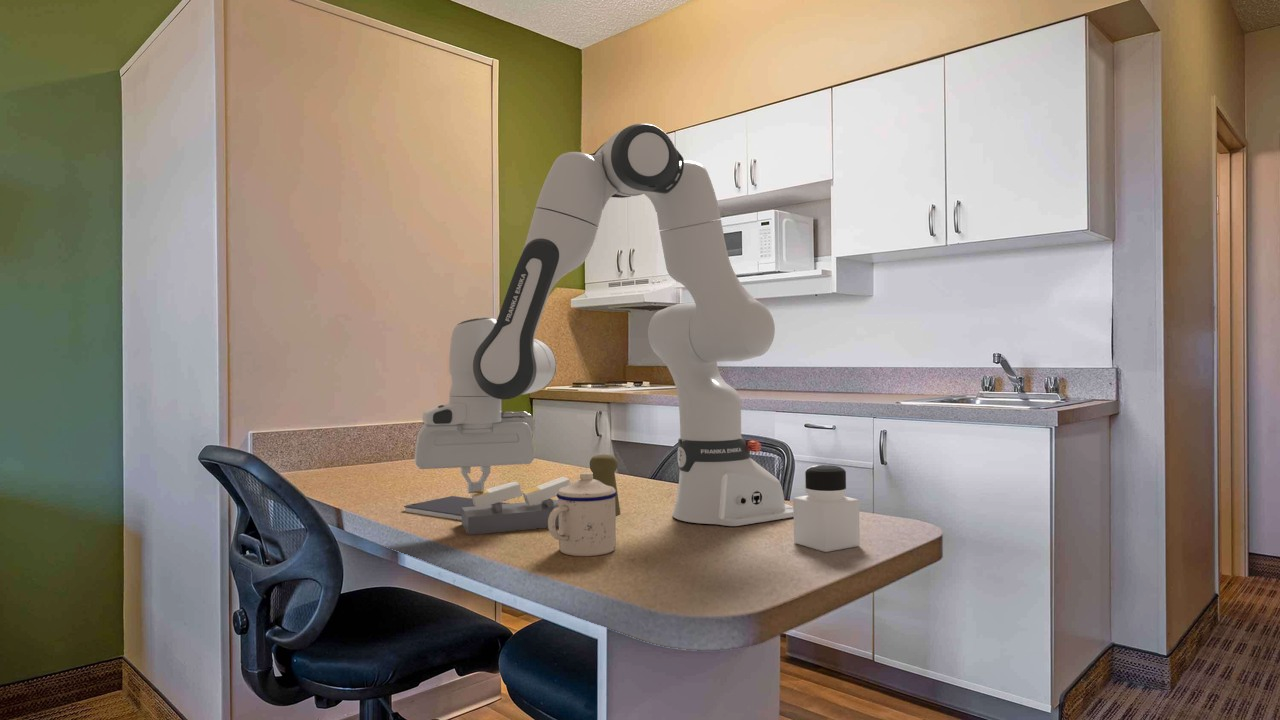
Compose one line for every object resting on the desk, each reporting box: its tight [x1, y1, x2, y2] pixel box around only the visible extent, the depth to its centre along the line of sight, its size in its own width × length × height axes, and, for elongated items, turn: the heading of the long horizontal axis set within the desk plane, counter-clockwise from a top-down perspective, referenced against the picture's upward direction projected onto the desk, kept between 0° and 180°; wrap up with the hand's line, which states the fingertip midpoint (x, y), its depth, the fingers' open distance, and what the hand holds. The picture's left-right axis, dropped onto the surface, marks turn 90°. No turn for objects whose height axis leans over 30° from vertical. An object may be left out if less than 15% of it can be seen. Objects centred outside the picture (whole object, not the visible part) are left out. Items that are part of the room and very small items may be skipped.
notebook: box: [403, 495, 511, 521], centre depth 150 cm, size 13×2×21 cm
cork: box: [589, 453, 621, 516], centre depth 145 cm, size 6×6×11 cm
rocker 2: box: [521, 476, 572, 506], centre depth 138 cm, size 8×4×2 cm, turn 110°
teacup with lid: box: [547, 472, 617, 557], centre depth 117 cm, size 12×9×12 cm
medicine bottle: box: [792, 464, 861, 553], centre depth 118 cm, size 7×7×12 cm
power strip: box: [461, 498, 559, 536], centre depth 138 cm, size 26×9×4 cm, turn 110°
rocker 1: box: [470, 480, 523, 508], centre depth 135 cm, size 8×4×2 cm, turn 110°
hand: (475, 492), depth 134 cm, fingers closed
